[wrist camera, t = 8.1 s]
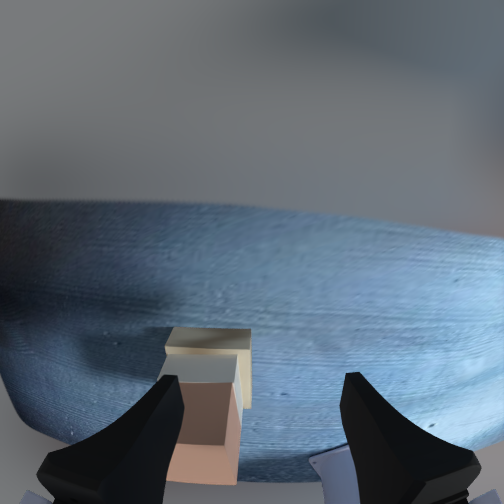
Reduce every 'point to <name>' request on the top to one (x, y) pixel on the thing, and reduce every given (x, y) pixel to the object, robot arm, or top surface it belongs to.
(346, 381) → the robot arm
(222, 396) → the terracotta block
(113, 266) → the top surface
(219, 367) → the tower top slab
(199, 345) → the tower base slab
